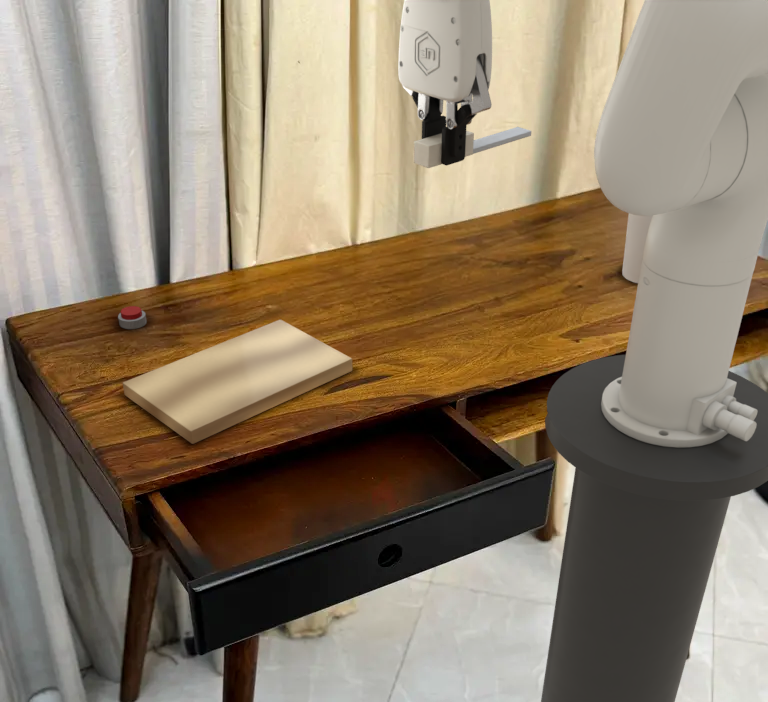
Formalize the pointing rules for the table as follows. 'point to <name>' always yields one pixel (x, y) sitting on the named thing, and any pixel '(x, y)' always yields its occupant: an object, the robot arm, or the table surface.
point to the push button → (132, 317)
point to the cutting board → (236, 379)
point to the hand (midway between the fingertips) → (443, 157)
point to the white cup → (635, 245)
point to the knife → (431, 147)
